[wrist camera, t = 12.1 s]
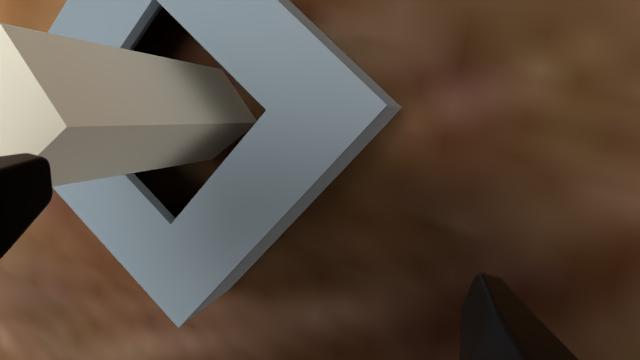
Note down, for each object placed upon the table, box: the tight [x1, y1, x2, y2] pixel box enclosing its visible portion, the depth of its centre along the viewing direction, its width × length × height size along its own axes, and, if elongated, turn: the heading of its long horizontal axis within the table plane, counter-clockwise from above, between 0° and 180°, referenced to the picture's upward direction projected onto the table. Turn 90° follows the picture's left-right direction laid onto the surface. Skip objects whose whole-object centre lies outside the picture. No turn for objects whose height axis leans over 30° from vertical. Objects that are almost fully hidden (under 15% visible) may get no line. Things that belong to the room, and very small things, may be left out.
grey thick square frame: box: [48, 0, 402, 328], centre depth 22 cm, size 14×14×5 cm
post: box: [0, 23, 257, 187], centre depth 19 cm, size 4×4×12 cm
